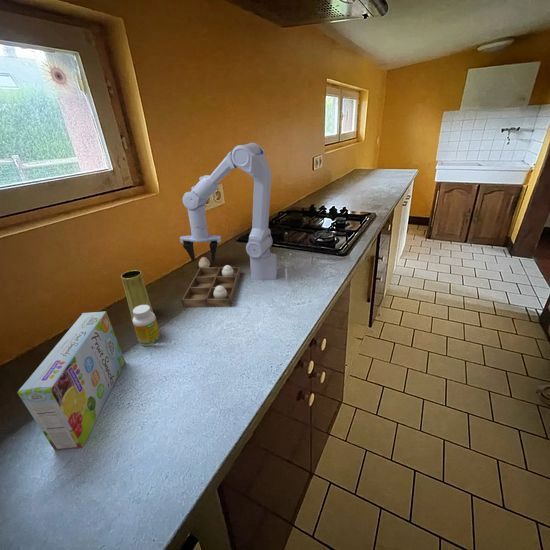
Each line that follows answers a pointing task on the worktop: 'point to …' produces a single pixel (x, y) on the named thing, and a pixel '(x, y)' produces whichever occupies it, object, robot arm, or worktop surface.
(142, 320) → the supplement bottle
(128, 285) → the vase
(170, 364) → the worktop surface
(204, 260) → the beige egg
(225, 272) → the cream egg far
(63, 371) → the snack box
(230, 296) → the egg tray
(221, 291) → the cream egg near
